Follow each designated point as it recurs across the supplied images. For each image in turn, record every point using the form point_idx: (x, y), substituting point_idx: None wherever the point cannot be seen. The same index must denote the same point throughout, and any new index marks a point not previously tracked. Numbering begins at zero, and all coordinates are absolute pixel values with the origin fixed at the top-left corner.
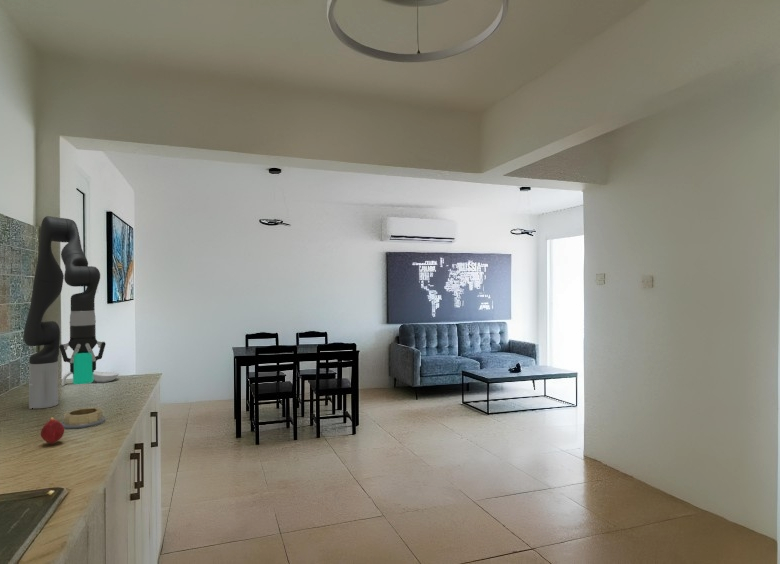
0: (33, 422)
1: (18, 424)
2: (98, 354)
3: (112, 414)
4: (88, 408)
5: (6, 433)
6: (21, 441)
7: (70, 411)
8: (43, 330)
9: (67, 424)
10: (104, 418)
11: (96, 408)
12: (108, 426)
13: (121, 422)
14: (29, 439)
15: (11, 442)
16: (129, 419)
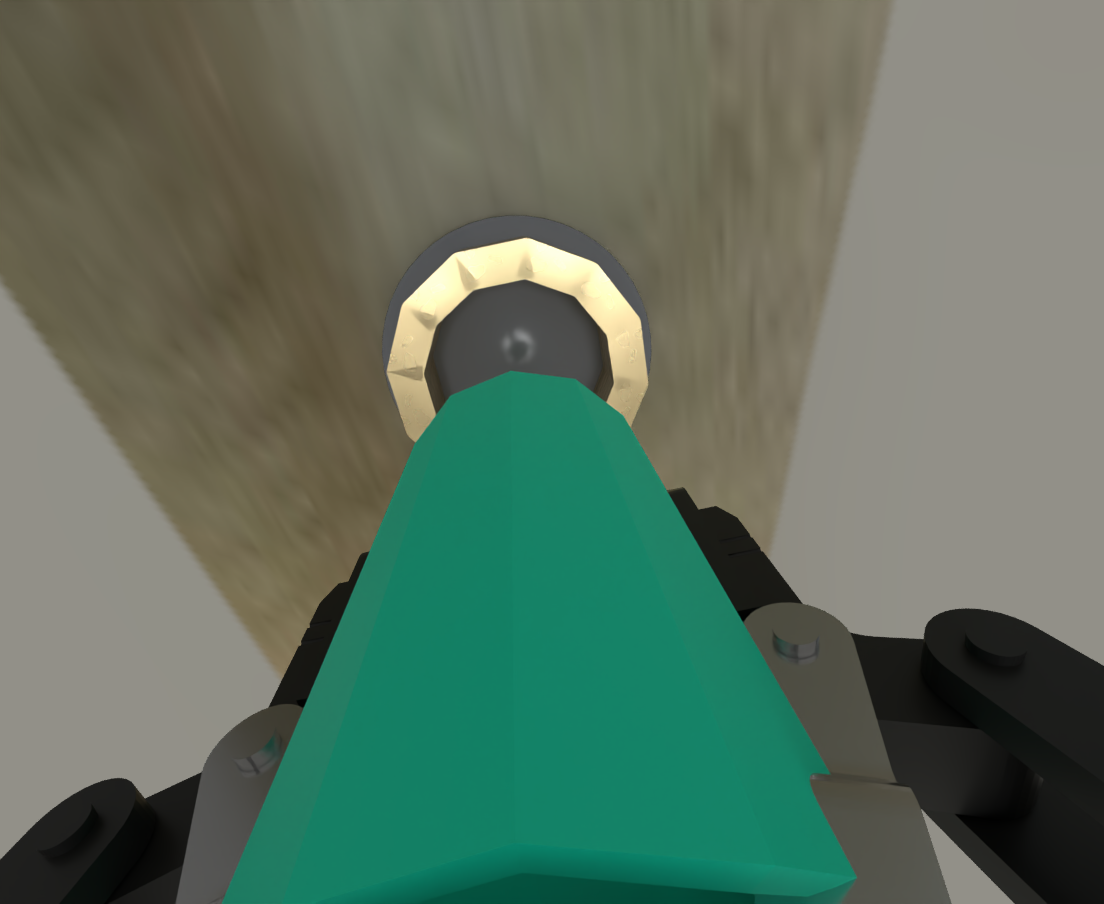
0: (123, 179)
1: (28, 202)
2: (1017, 755)
3: (682, 155)
4: (536, 275)
5: (105, 431)
6: (295, 603)
7: (415, 329)
8: None
9: None
10: (648, 361)
11: (600, 301)
12: (674, 480)
13: (742, 419)
14: (320, 584)
15: (251, 605)
16: (789, 364)
